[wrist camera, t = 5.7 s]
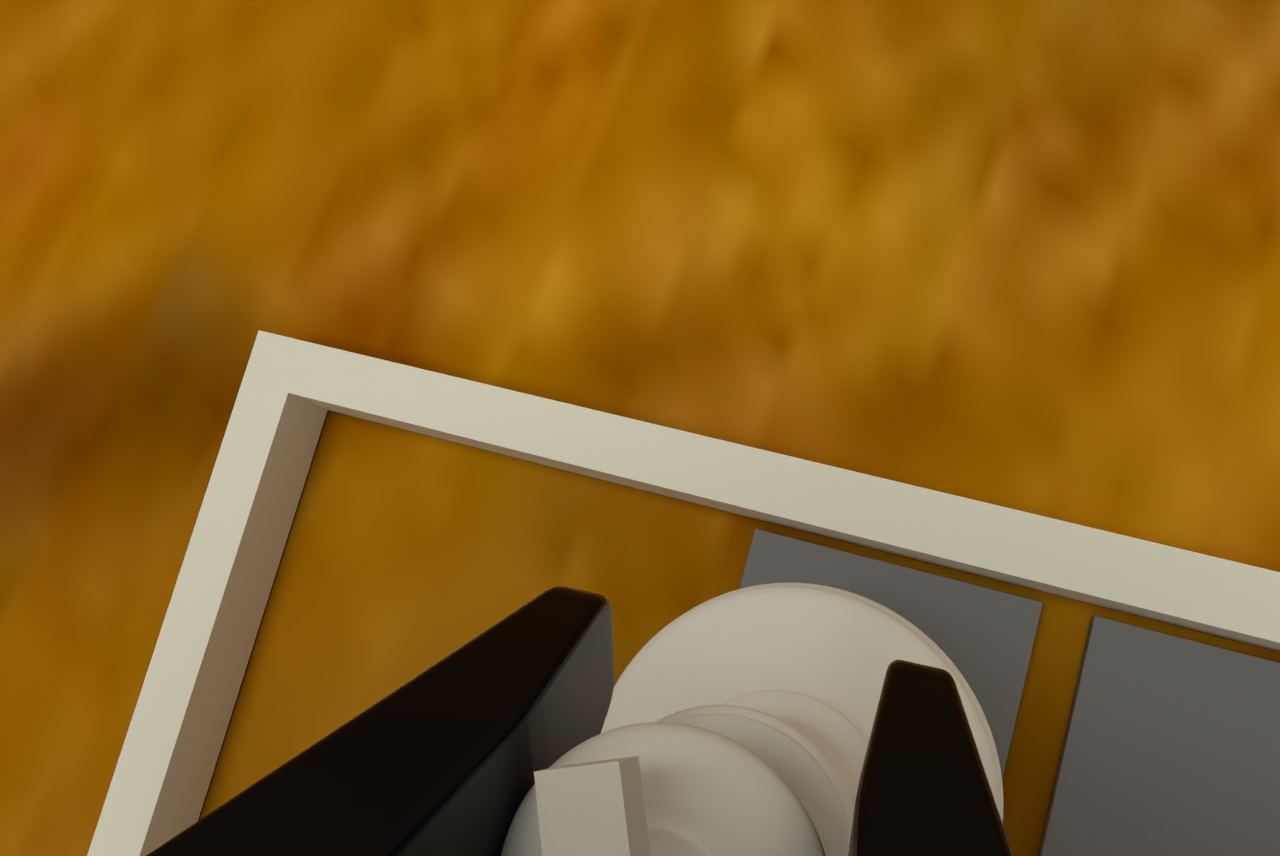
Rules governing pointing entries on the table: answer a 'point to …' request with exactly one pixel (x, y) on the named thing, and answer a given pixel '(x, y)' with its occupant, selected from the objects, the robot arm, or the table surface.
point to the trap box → (785, 495)
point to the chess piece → (736, 733)
